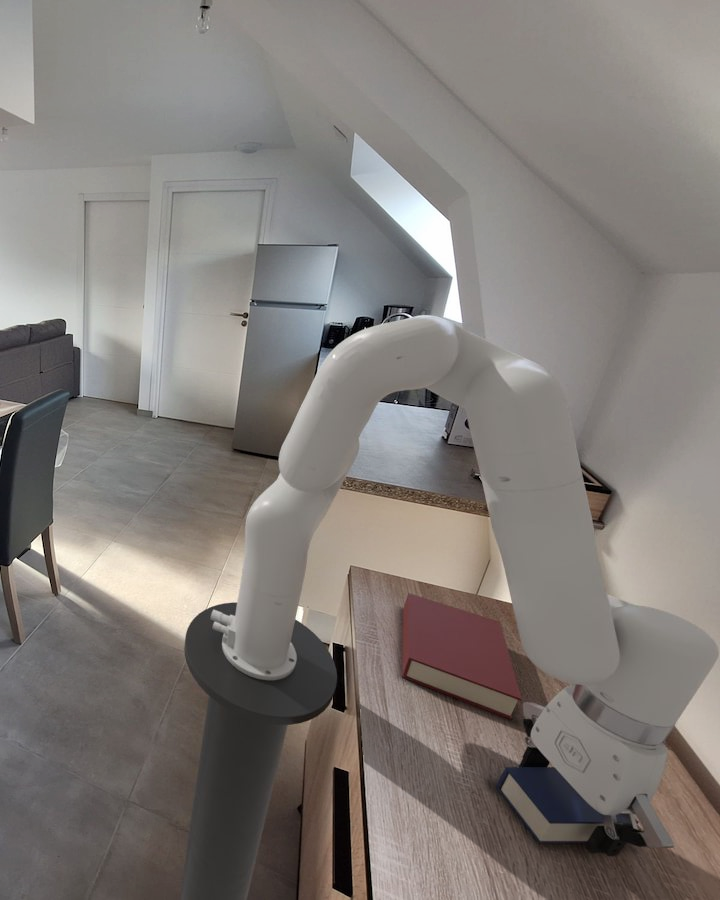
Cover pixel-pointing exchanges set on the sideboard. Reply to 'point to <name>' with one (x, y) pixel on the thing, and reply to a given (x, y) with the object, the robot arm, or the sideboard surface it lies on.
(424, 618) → the hardback
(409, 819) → the sideboard surface
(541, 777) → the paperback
